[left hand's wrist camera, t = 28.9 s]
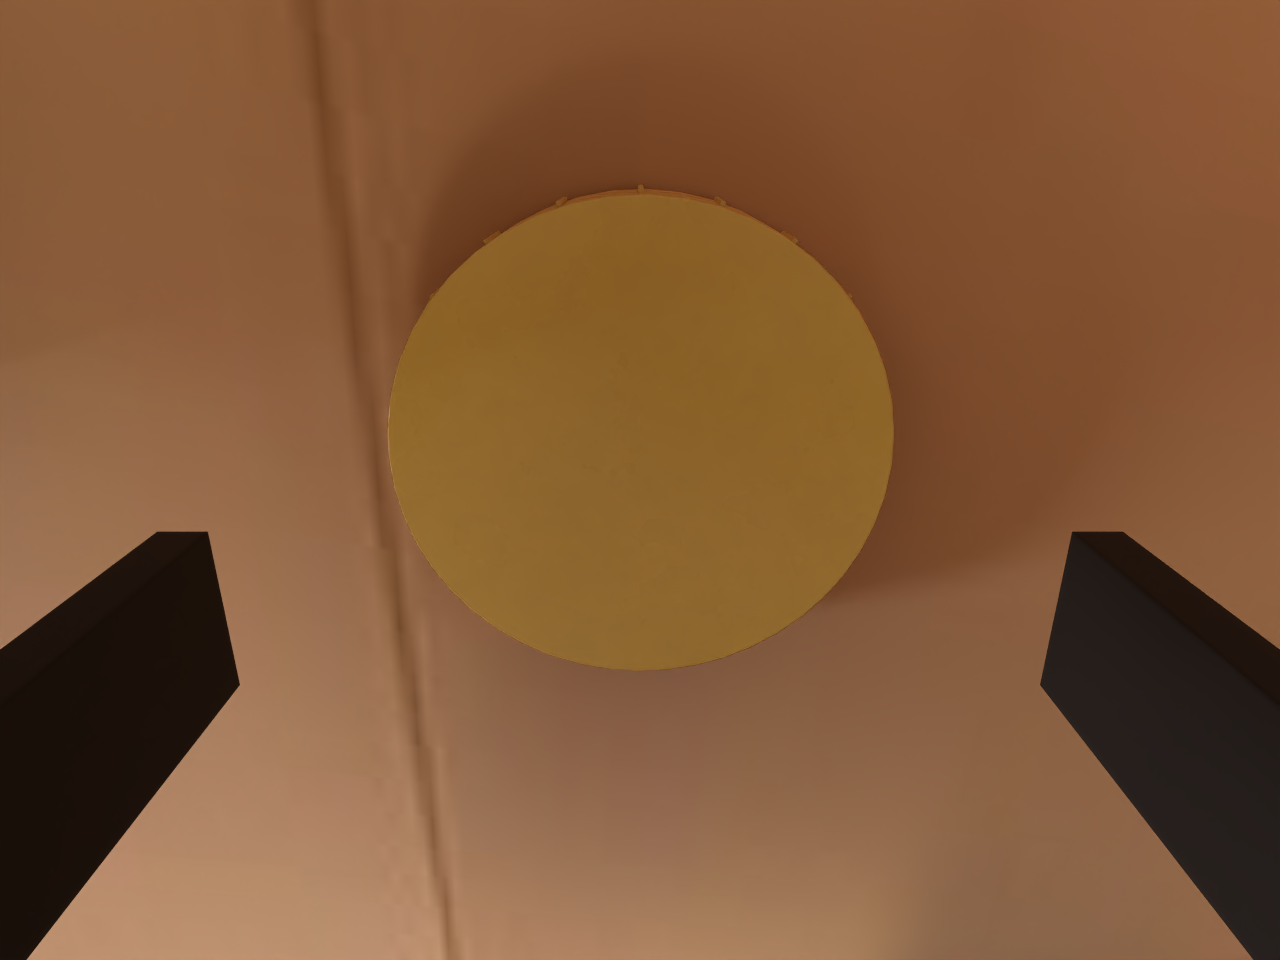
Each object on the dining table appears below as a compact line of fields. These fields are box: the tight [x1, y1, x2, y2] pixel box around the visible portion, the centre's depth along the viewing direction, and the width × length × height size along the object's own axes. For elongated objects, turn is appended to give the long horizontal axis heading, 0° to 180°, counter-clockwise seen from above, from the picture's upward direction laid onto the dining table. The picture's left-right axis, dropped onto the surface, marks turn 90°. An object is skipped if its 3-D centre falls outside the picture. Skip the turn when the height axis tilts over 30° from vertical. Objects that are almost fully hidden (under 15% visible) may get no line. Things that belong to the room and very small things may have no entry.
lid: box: [387, 185, 894, 671], centre depth 17 cm, size 10×10×2 cm
